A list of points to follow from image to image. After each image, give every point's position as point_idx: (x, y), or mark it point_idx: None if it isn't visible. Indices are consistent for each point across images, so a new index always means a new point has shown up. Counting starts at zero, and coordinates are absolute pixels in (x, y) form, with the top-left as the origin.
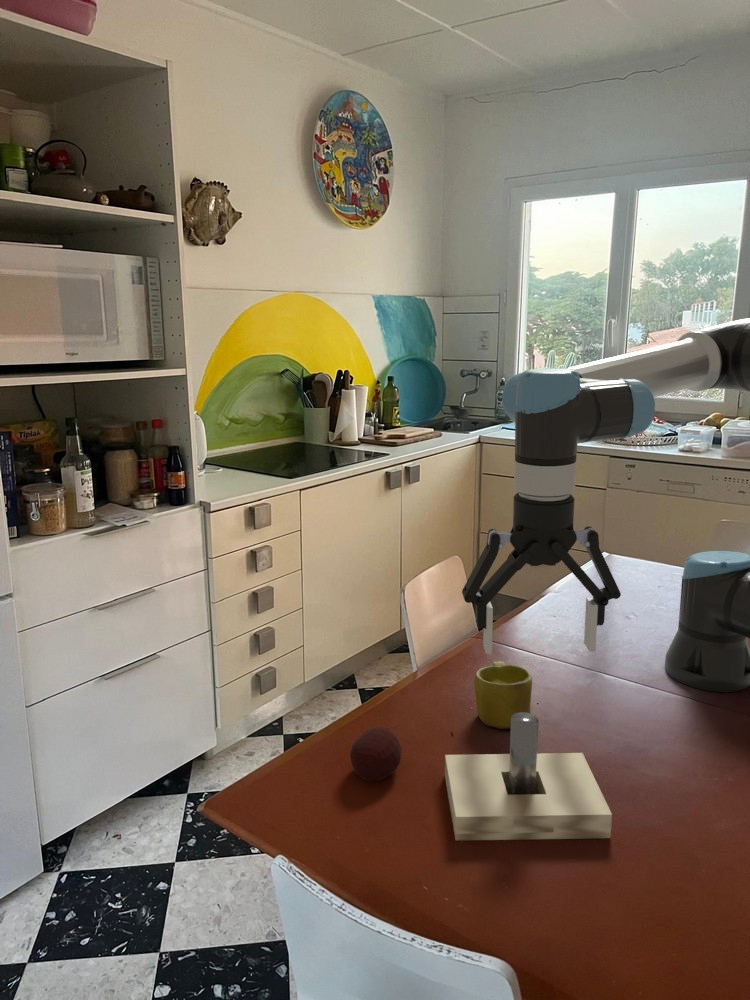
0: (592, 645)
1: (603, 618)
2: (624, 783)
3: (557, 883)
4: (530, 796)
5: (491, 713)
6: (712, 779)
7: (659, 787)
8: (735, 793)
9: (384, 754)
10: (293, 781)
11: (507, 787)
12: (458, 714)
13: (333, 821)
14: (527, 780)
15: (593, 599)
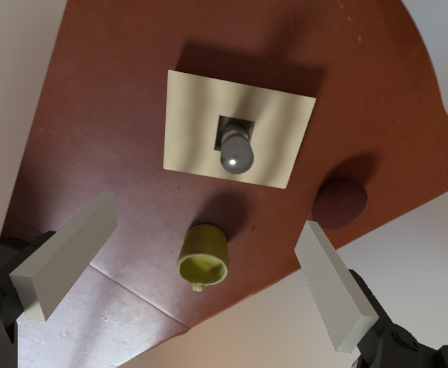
0: (102, 198)
1: (32, 243)
2: (136, 142)
3: (244, 17)
4: (235, 114)
5: (220, 237)
6: (57, 132)
7: (107, 131)
8: (41, 109)
9: (343, 192)
10: (397, 195)
11: None
12: (238, 249)
13: (391, 142)
14: (234, 126)
15: (21, 307)
